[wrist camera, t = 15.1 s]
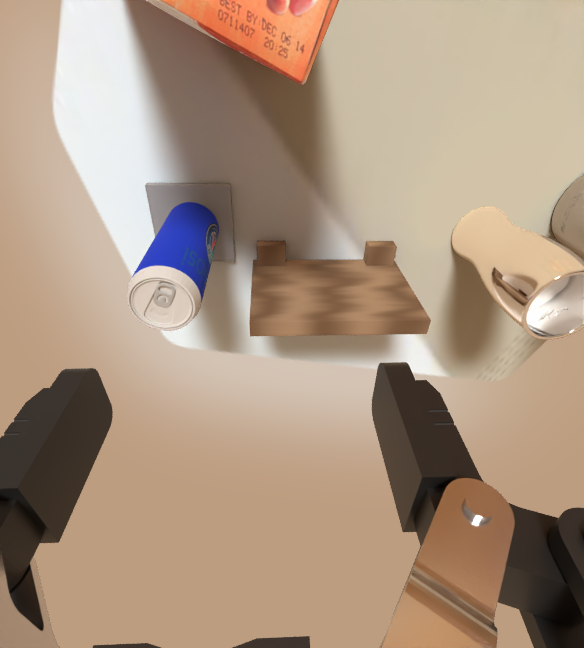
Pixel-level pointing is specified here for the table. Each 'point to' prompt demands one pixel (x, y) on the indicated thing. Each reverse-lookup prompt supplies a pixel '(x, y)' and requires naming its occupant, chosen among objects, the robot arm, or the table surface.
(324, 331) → the walnut screen
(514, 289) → the beer glass
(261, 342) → the table surface
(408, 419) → the robot arm
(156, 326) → the beverage can
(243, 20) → the cracker box
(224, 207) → the slate mat
